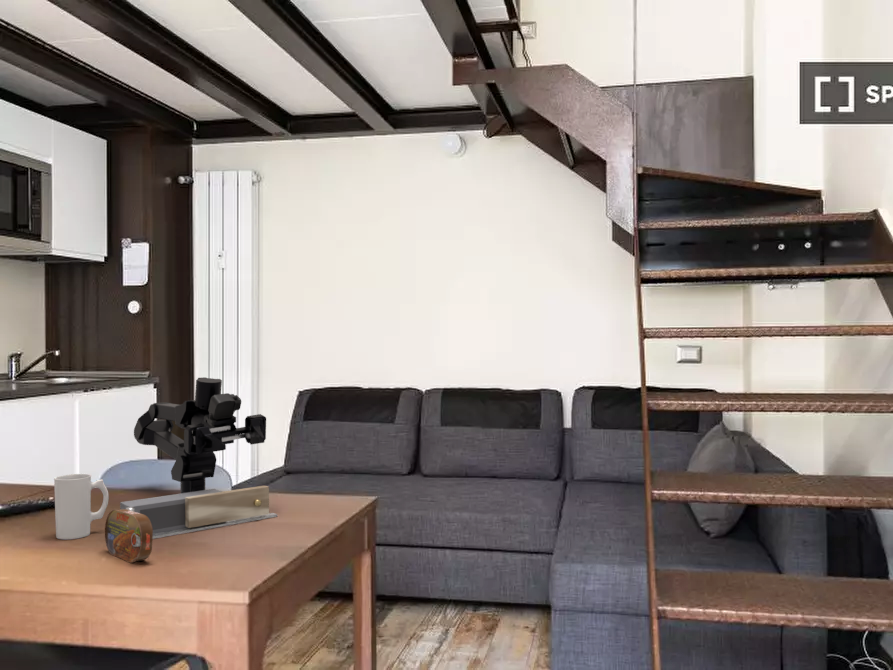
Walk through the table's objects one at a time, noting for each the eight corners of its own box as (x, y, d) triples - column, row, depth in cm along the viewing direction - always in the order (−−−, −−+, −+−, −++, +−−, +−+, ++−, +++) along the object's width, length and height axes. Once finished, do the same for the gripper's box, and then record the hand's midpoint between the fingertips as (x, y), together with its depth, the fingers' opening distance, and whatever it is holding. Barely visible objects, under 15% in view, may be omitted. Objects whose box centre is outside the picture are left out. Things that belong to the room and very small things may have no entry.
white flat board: (125, 541, 149) (124, 507, 149) (273, 514, 170) (272, 485, 170) (128, 543, 148) (128, 509, 148) (277, 516, 168) (277, 486, 168)
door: (185, 526, 157) (185, 497, 157) (264, 512, 169) (264, 485, 169) (191, 528, 155) (190, 499, 155) (271, 514, 166) (270, 487, 166)
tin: (103, 551, 143) (102, 506, 143) (119, 547, 145) (119, 503, 145) (139, 567, 132) (138, 519, 132) (156, 563, 134) (155, 516, 134)
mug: (55, 541, 149) (54, 481, 149) (54, 534, 155) (53, 475, 155) (110, 535, 154) (109, 476, 154) (107, 527, 160) (107, 471, 160)
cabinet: (120, 534, 155) (120, 502, 155) (214, 517, 168) (214, 488, 168) (130, 539, 150) (130, 507, 150) (226, 523, 163) (225, 492, 163)
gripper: (172, 396, 167) (204, 413, 156) (249, 386, 180) (283, 402, 169) (172, 445, 169) (203, 465, 158) (248, 432, 182) (282, 450, 170)
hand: (244, 443), depth 164 cm, fingers open, 9 cm apart
